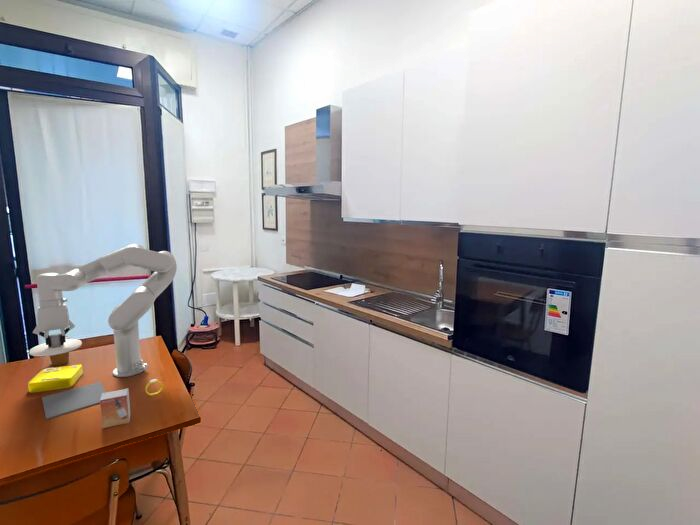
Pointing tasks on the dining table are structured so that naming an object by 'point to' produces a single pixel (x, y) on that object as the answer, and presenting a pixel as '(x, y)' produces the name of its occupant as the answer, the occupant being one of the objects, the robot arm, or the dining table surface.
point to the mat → (72, 400)
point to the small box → (115, 408)
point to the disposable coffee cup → (60, 357)
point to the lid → (55, 346)
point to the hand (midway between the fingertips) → (56, 344)
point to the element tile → (55, 378)
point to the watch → (153, 383)
